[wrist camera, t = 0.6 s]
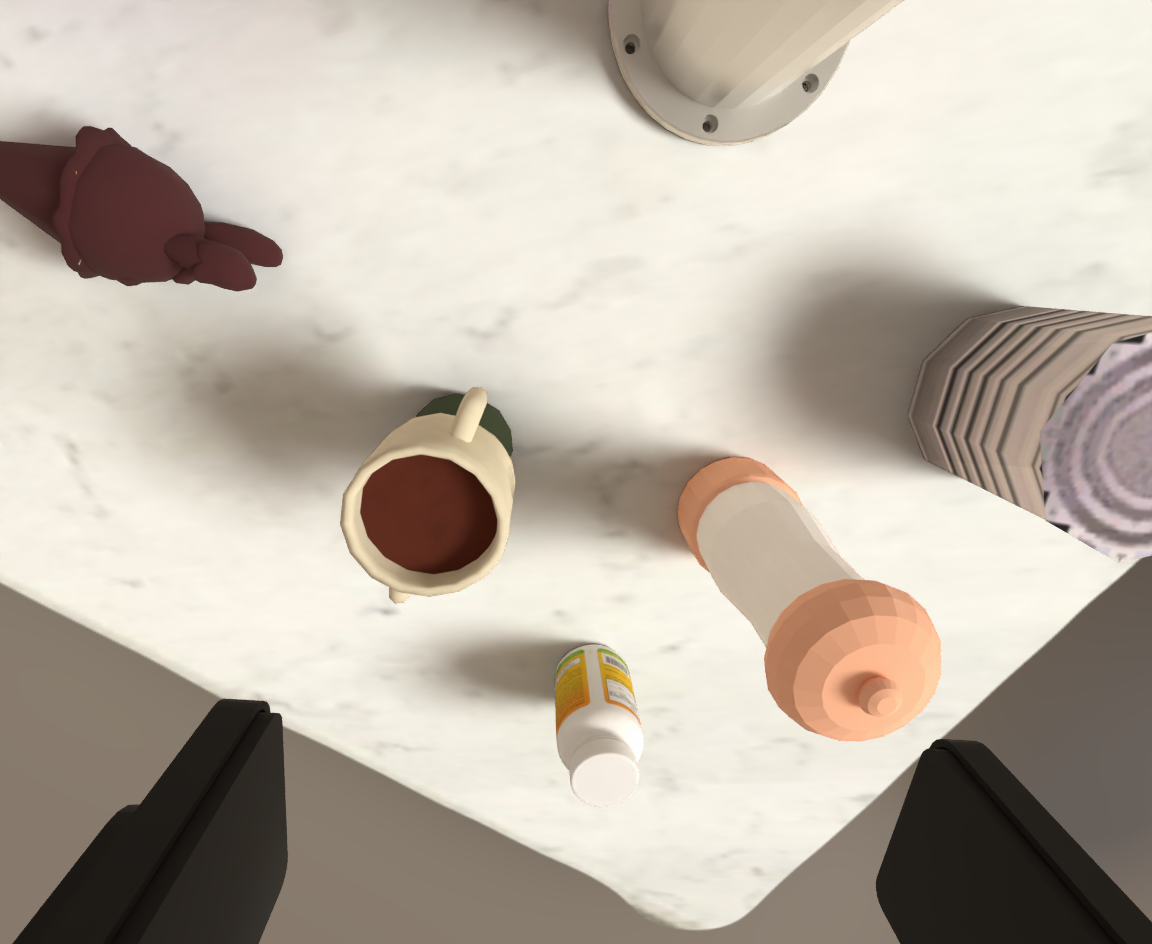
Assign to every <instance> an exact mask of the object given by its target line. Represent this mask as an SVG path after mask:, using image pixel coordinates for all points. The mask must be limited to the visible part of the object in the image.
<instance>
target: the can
mask: <svg viewBox="0 0 1152 944" xmlns="http://www.w3.org/2000/svg"><path fill="white" fill-rule="evenodd" d="M907 416H908V418H909V421H910V424H911V426H912V429H913V431H914V434H915V436H916V439H917V441H918V444H919V446H920V449H921V452H922V454H923V457H924V459H925V460H927V461H929V462H931V463H933V464H935V465H937V466H939V467H941V468H943V469H945V470H947V471H949V472H951V473H953V474H955V475H957V476H959V477H961V478H963V479H965V480H967V481H969V482H971V483H973V484H975V485H977V486H979V487H981V488H983V489H985V490H987V491H989V492H991V493H993V494H995V495H997V496H999V497H1001V498H1003V499H1005V500H1007V501H1009V502H1011V503H1013V504H1015V505H1017V506H1019V507H1021V508H1023V509H1025V510H1027V511H1029V512H1031V513H1033V514H1035V515H1037V516H1039V517H1041V518H1043V519H1045V520H1046V521H1047V522H1049V523H1051V524H1052V525H1054V526H1056V527H1058V528H1059V529H1061V530H1063V531H1065V532H1066V533H1068V534H1070V535H1071V536H1073V537H1075V538H1077V539H1078V540H1080V541H1082V542H1083V543H1085V544H1087V545H1089V546H1090V547H1092V548H1094V549H1095V550H1097V551H1099V552H1101V553H1102V554H1104V555H1106V556H1107V557H1109V558H1111V559H1113V560H1114V561H1116V562H1118V563H1120V562H1125V561H1129V560H1133V559H1138V558H1142V557H1146V556H1151V555H1152V317H1151V316H1139V315H1126V314H1114V313H1102V312H1089V311H1077V310H1064V309H1052V308H1039V307H1027V306H1022V307H1017V308H1013V309H1008V310H1003V311H999V312H994V313H990V314H985V315H980V316H976V317H971V318H967V319H966V320H965V321H964V322H963V323H962V324H961V325H960V326H959V327H958V328H957V329H956V330H954V331H953V332H952V333H951V334H950V335H949V336H948V337H947V338H946V339H945V340H944V341H943V342H942V343H941V344H940V345H939V346H938V347H937V348H936V349H935V350H934V351H933V352H931V353H930V354H929V355H928V356H927V357H926V358H925V359H924V360H923V361H922V365H921V368H920V372H919V375H918V379H917V382H916V386H915V389H914V393H913V396H912V400H911V403H910V407H909V410H908V414H907Z"/></svg>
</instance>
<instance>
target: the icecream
mask: <svg viewBox="0 0 1152 944" xmlns="http://www.w3.org/2000/svg"><path fill="white" fill-rule="evenodd" d="M0 199H1V200H2V201H4V202H5V203H7V204H8V205H9V206H11V207H12V208H13V209H15V210H16V211H17V212H19V213H20V214H22V215H23V216H24V217H26V218H27V219H28V220H30V221H31V222H32V223H34V224H35V225H37V226H38V227H39V228H41V229H42V230H43V231H45V232H46V233H47V234H49V235H50V236H52V237H53V238H54V239H56V240H57V241H58V242H60V243H61V249H62V254H63V256H64V259H65V261H66V263H67V265H68V266H69V267H70V268H71V269H72V270H73V271H76V272H78V274H79V275H80V277H82V278H93V277H96V276H102V277H105V278H108V279H110V280H117V281H119V282H120V283H122V284H124V285H126V286H134V285H138V284H140V283H145V282H166V281H168V280H171V279H173V280H174V281H175V282H176V283H180V284H188V285H189V284H190V283H192V282H193V281H195V280H196V281H198V282H200V283H207V284H213V285H215V286H218V287H221V288H224V289H228V290H233V291H242V290H247V289H252V288H253V287H254V286H255V284H256V280H257V278H256V275H255V272H254V270H253V268H252V266H251V264H255V265H259V266H264V267H277V266H279V265H281V263H282V259H283V254H282V250H281V249H280V248H279V246H278V245H277V244H276V243H275V242H274V241H273V240H271V239H269V238H267V237H265V236H264V235H262V234H260V233H258V232H256V231H255V230H252V229H248V228H243V227H239V226H235V225H230V224H226V223H216V222H204V215H203V211H202V208H201V204H200V203H199V201H198V200H197V198H196V196H195V195H194V193H193V192H192V190H191V188H190V187H189V185H188V184H187V183H186V182H185V181H184V180H183V179H182V178H181V177H180V176H179V175H178V174H177V173H176V172H175V171H174V170H172V169H171V168H170V167H168V166H167V165H165V164H163V163H161V162H159V161H157V160H156V159H154V158H152V157H150V156H148V155H146V154H145V153H143V152H142V151H140V150H139V149H137V148H136V147H131V145H130V144H129V143H128V142H126V141H125V140H124V139H123V138H122V137H120V135H119V134H118V133H117V132H116V131H115V130H114V129H113V128H107V129H106V130H101V129H98V128H94V127H91V126H84V127H83V128H81V129H80V130H79V132H78V133H77V135H76V147H65V146H53V145H40V144H28V143H15V142H2V141H0Z"/></svg>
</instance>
